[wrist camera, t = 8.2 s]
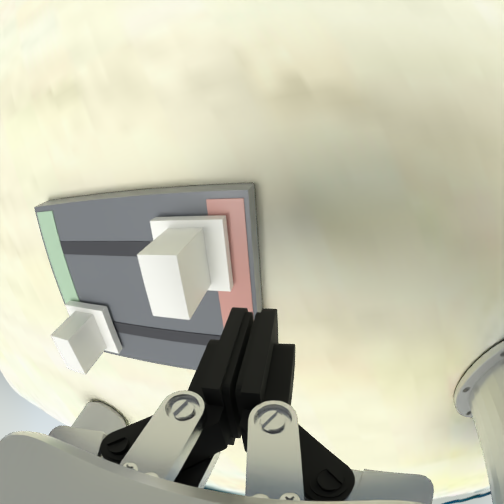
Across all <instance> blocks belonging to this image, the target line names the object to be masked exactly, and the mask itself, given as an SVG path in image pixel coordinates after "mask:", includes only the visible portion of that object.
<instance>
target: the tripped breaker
mask: <svg viewBox="0 0 504 504" xmlns="http://www.w3.org/2000/svg"><path fill="white" fill-rule="evenodd" d="M150 225H151V231H152V236H153V241H152V242H151V243H150V244H149V245H147V246H146V247H145V248H144V249H143V250H142V251H141V252H139V253H138V254H137V257H138V261H139V265H140V269H141V273H142V277H143V281H144V285H145V289H146V292H147V296H148V300H149V303H150V307H151V310H152V314H153V316H159V317H167V318H176V319H185V320H190V319H191V317H192V315H193V314H194V312H195V310H196V309H197V307H198V305H199V303H200V302H201V300H202V298H203V297H204V295H205V293H206V292H207V290H211V291H229V292H231V290H232V288H233V277H232V268H231V259H230V250H229V240H228V231H227V221H226V215H214V216H173V217H155V218H153V219H152V220H151V221H150Z"/></svg>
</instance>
